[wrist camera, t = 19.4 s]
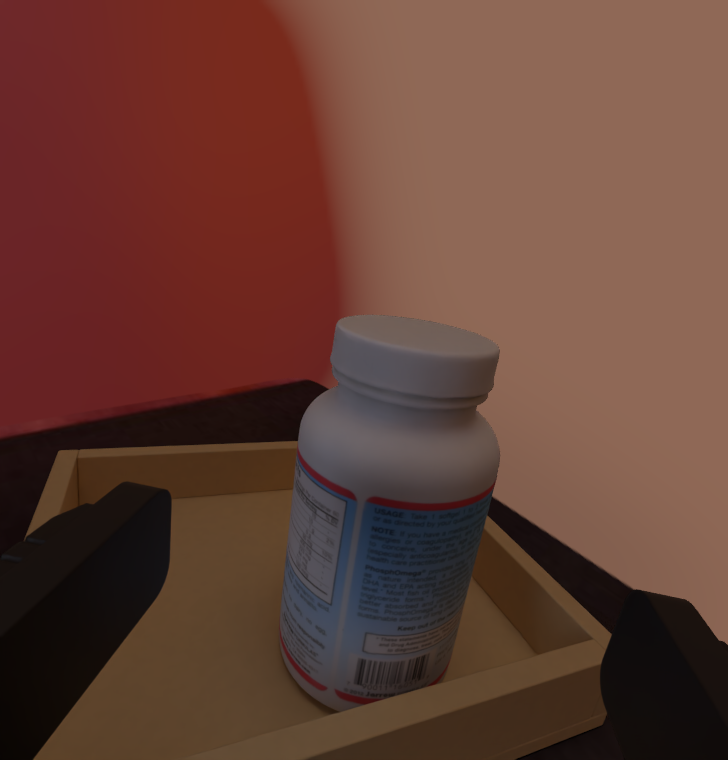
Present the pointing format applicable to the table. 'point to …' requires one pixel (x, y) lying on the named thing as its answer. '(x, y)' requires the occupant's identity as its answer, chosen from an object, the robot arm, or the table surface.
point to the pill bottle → (387, 509)
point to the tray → (262, 648)
